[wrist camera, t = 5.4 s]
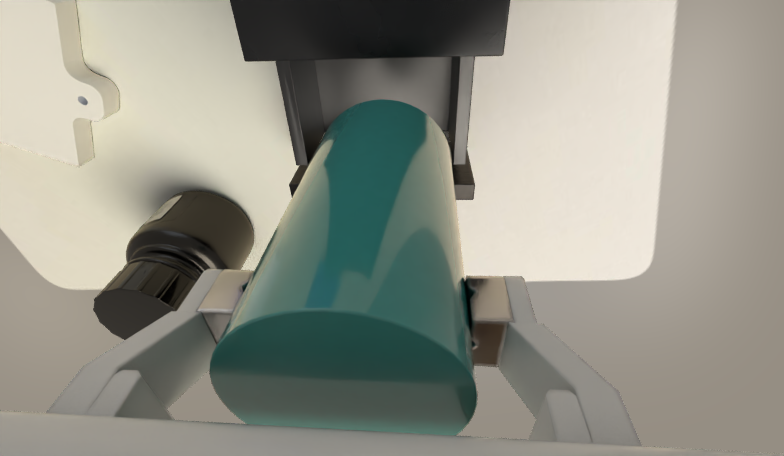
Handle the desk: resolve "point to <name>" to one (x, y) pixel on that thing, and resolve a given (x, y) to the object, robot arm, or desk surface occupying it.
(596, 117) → the desk surface
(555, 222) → the desk surface
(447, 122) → the drawer
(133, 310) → the ink bottle
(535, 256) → the desk surface
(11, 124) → the mounting plate
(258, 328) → the teal cylinder
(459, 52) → the cabinet
